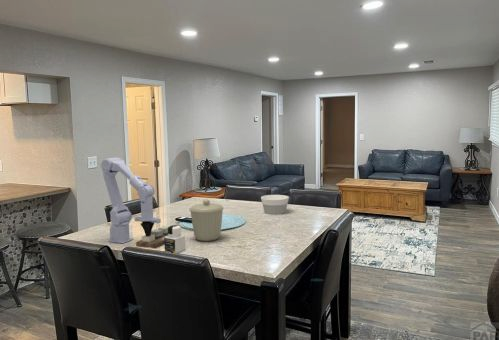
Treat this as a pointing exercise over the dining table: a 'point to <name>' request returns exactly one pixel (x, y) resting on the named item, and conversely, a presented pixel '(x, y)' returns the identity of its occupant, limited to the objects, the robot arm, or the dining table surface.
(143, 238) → the cream key
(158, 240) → the keypad board
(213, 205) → the canister
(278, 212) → the bowl
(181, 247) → the medicine bottle
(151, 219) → the robot arm
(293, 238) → the dining table surface
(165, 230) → the sage key
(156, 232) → the grey key
